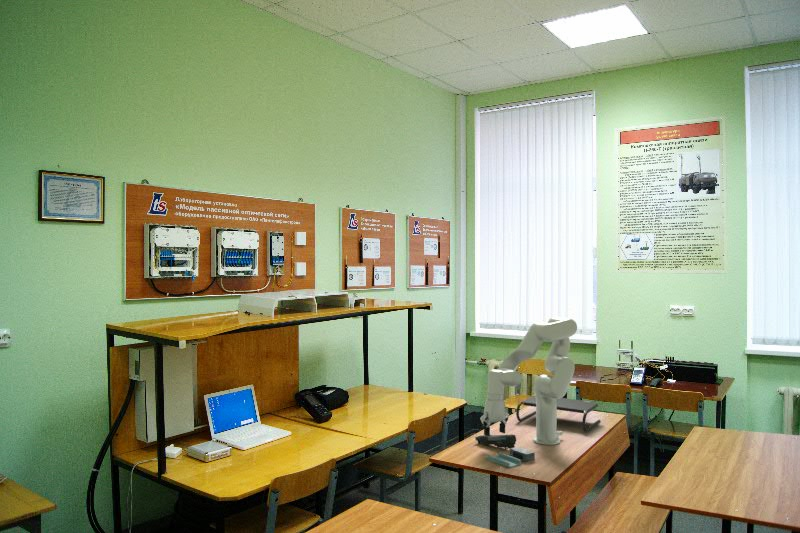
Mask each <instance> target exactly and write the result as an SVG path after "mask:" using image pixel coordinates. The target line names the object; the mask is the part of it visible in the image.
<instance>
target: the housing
mask: <svg viewBox="0 0 800 533" xmlns="http://www.w3.org/2000/svg"><path fill="white" fill-rule="evenodd" d="M535 453H536V452H535V451H531V450H529V449H526V448H523V447H520V446H515V447H514V448H510V449H509V456H511V457H514V458H517V459H519V460H521V462H524V463H530V462H531V463H532V462H534V461H535V460H536V454H535Z"/></svg>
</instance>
